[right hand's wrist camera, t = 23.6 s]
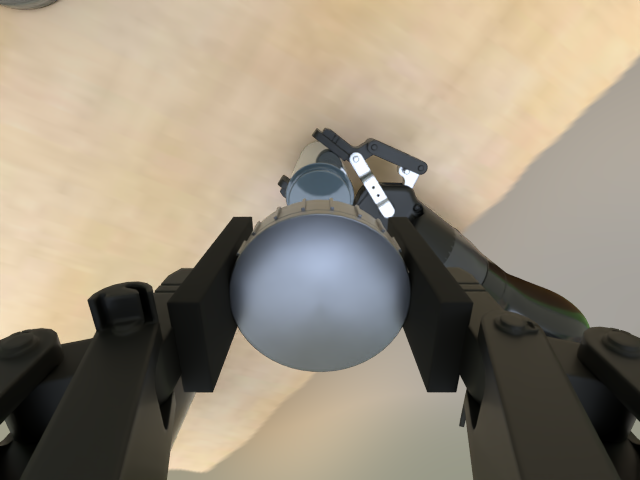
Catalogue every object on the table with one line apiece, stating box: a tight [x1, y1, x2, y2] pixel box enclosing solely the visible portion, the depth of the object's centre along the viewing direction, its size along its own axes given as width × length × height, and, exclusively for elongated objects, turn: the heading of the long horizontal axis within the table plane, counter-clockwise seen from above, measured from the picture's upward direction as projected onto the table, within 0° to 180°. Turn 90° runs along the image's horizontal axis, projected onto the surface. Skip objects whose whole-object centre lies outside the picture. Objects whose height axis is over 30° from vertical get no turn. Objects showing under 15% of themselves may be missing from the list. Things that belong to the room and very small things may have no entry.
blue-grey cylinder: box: [286, 141, 354, 206], centre depth 31 cm, size 5×5×17 cm
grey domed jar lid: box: [229, 198, 411, 372], centre depth 11 cm, size 6×6×2 cm
